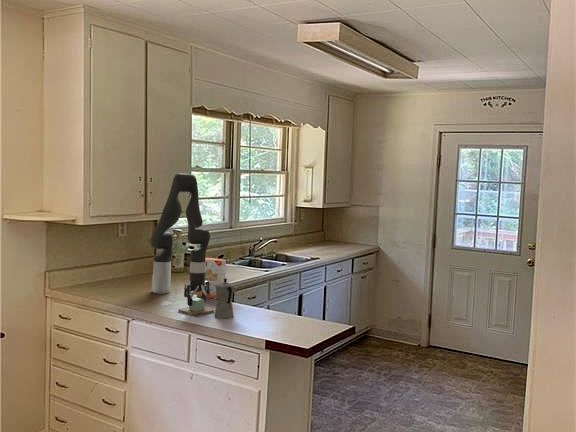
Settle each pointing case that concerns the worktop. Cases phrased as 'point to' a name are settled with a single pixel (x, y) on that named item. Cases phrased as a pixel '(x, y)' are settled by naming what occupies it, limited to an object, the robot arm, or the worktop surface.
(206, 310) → the walnut board
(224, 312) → the coffeepot
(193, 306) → the sage block
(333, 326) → the worktop surface
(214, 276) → the cracker box
